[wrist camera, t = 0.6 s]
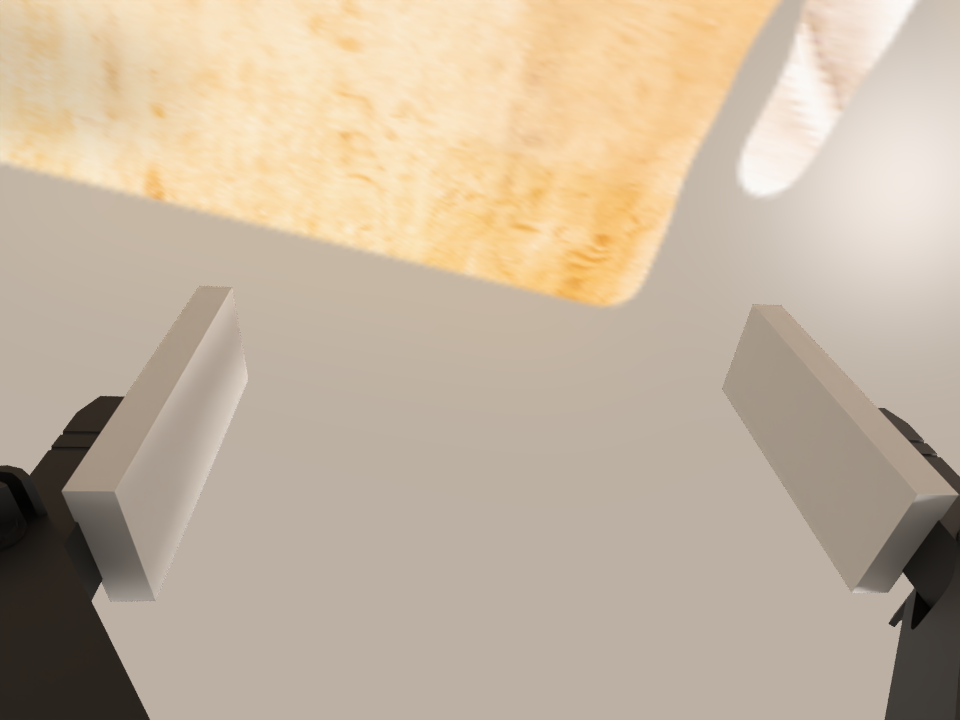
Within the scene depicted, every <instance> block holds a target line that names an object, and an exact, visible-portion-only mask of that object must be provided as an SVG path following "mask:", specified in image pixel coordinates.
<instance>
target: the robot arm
mask: <svg viewBox="0 0 960 720" xmlns="http://www.w3.org/2000/svg"><path fill="white" fill-rule="evenodd" d="M247 381H248V376H247V370H246V364H245V358H244V352H243V347H242V341H241V335H240V330H239V324H238V318H237V312H236V307H235V301H234V296H233V290H232V287H212V286H211V287H210V286H199V287H198V288H197V290H196V292H195V293H194V294H193V296H192V298H191V299H190V301H189V302H188V303H187V305H186V307H185V308H184V309H183V311H182V312H181V314H180V315H179V317H178V318H177V320H176V321H175V323H174V324H173V326H172V327H171V329H170V330H169V332H168V333H167V335H166V336H165V338H164V339H163V341H162V342H161V344H160V345H159V347H158V348H157V350H156V351H155V353H154V354H153V356H152V357H151V359H150V360H149V362H148V363H147V365H146V366H145V368H144V369H143V371H142V372H141V374H140V375H139V376H138V378H137V380H136V381H135V383H134V384H133V385H132V387H131V389H130V390H129V391H128V393H127V394H126V396H125V397H118V396H116V397H115V396H100V397H99V398H97V399H95V400H94V401H93V402H91V403H90V404H88V405H87V406H85V407H84V408H83V409H81V410H80V411H78V412H77V413H76V414H75V416H74V417H73V418H72V420H71V421H70V422H69V424H68V425H67V426H66V428H65V429H64V430H63V435H60V436H59V437H58V439H57V440H56V441H55V442H54V444H53V445H52V449H51V450H49V451H48V452H47V453H46V454H45V456H44V457H43V458H42V460H41V461H40V462H39V464H38V465H37V466H36V468H35V469H34V470H33V472H32V473H31V474H30V476H29V475H28V474H27V473H26V472H25V471H24V470H23V469H21V468H17V467H12V466H8V465H6V466H0V720H150V719H149V717H148V715H147V713H146V711H145V709H144V707H143V705H142V703H141V701H140V699H139V697H138V695H137V693H136V691H135V689H134V687H133V685H132V683H131V681H130V679H129V677H128V674H127V672H126V670H125V668H124V667H123V664H122V662H121V660H120V658H119V656H118V654H117V652H116V650H115V649H114V646H113V644H112V642H111V640H110V638H109V636H108V634H107V632H106V630H105V628H104V626H103V624H102V622H101V620H100V618H99V616H98V614H97V612H96V610H95V608H94V606H93V604H92V602H91V601H92V599H93V597H94V595H95V593H96V591H97V589H98V587H99V585H100V583H101V582H102V584H103V586H104V589H105V591H106V593H107V595H108V598H109V600H110V601H155V600H156V598H157V596H158V594H159V591H160V589H161V586H162V584H163V582H164V579H165V577H166V575H167V572H168V570H169V567H170V565H171V563H172V560H173V558H174V556H175V553H176V551H177V548H178V546H179V544H180V541H181V539H182V536H183V534H184V532H185V529H186V527H187V525H188V522H189V520H190V517H191V515H192V513H193V510H194V508H195V505H196V503H197V501H198V498H199V496H200V493H201V491H202V488H203V486H204V483H205V481H206V479H207V477H208V474H209V472H210V470H211V467H212V465H213V462H214V460H215V458H216V455H217V453H218V450H219V448H220V446H221V443H222V441H223V438H224V436H225V433H226V431H227V429H228V426H229V424H230V422H231V419H232V417H233V414H234V412H235V410H236V407H237V405H238V402H239V400H240V398H241V395H242V393H243V391H244V388H245V386H246V383H247ZM722 389H723V391H724V393H725V394H726V396H727V397H728V399H729V401H730V402H731V404H732V405H733V407H734V409H735V410H736V412H737V413H738V415H739V416H740V418H741V420H742V421H743V423H744V424H745V426H746V427H747V429H748V431H749V432H750V433H751V435H752V437H753V438H754V440H755V442H756V443H757V445H758V446H759V448H760V449H761V451H762V453H763V454H764V456H765V457H766V459H767V460H768V462H769V464H770V465H771V467H772V468H773V470H774V471H775V473H776V474H777V476H778V477H779V479H780V481H781V482H782V484H783V486H784V487H785V489H786V490H787V492H788V493H789V495H790V497H791V498H792V500H793V501H794V503H795V504H796V506H797V508H798V509H799V511H800V512H801V514H802V515H803V517H804V519H805V520H806V522H807V523H808V525H809V526H810V528H811V529H812V531H813V533H814V534H815V536H816V537H817V539H818V540H819V542H820V544H821V545H822V547H823V548H824V550H825V551H826V553H827V555H828V556H829V558H830V559H831V561H832V562H833V564H834V566H835V567H836V569H837V570H838V572H839V574H840V575H841V577H842V578H843V580H844V581H845V583H846V585H847V586H848V588H849V589H850V591H851V592H852V593H880V592H881V593H883V592H884V593H885V592H889V591H890V589H891V588H892V587H893V585H894V584H895V582H896V581H897V580H898V578H899V577H900V575H901V574H902V573H904V574H905V575H906V577H907V578H908V579H909V581H910V582H911V584H912V585H913V586H914V589H913V591H912V592H911V593H910V595H909V596H908V597H907V599H906V600H905V601H904V603H903V604H902V605H901V606H900V608H899V609H898V610H897V612H896V613H895V614H894V616H893V617H892V619H891V621H890V622H889V624H890V625H891V626H893V627H895V626H896V625H897V623H898V622H899V621H900V620H902V626H901V631H900V637H899V643H898V648H897V654H896V659H895V665H894V671H893V676H892V682H891V687H890V693H889V698H888V704H887V710H886V716H885V720H960V477H959V476H958V475H957V474H956V473H955V472H954V471H953V470H952V469H951V468H950V466H949V465H947V463H946V462H945V461H944V460H943V459H942V458H941V457H937V453H936V452H935V451H934V450H933V449H932V448H931V447H930V446H929V445H928V444H926V443H924V440H923V439H922V438H921V437H920V436H919V435H918V434H917V433H916V432H915V430H914V429H913V428H912V427H911V426H910V425H909V424H908V423H906V422H905V421H903V420H902V419H900V418H899V417H897V416H895V415H894V414H893V413H891V412H889V411H888V410H886V409H885V408H877V407H876V406H875V405H874V404H873V403H872V402H871V401H870V400H869V398H867V397H866V396H865V394H864V393H863V392H862V391H861V390H860V389H859V388H858V387H857V386H856V385H855V384H854V383H853V381H852V380H851V379H850V378H849V377H848V376H847V375H846V374H845V373H844V372H843V371H842V370H841V369H840V368H839V367H838V365H837V364H836V363H835V362H834V361H833V360H832V359H831V358H830V357H829V356H828V355H827V354H826V353H825V352H824V351H823V350H822V348H820V346H819V345H818V344H817V343H816V342H815V341H814V340H813V339H812V338H811V337H810V336H809V335H808V334H807V333H806V331H804V329H803V328H802V327H801V326H800V325H799V324H798V323H797V322H796V321H795V320H794V319H793V318H792V317H791V315H790V314H788V312H787V311H786V310H785V309H784V308H783V307H782V306H781V305H758V304H755V305H754V304H753V306H752V308H751V311H750V314H749V316H748V319H747V322H746V325H745V327H744V330H743V333H742V335H741V338H740V341H739V344H738V346H737V350H736V352H735V355H734V358H733V360H732V363H731V366H730V368H729V371H728V374H727V377H726V380H725V382H724V385H723V388H722Z"/></svg>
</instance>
